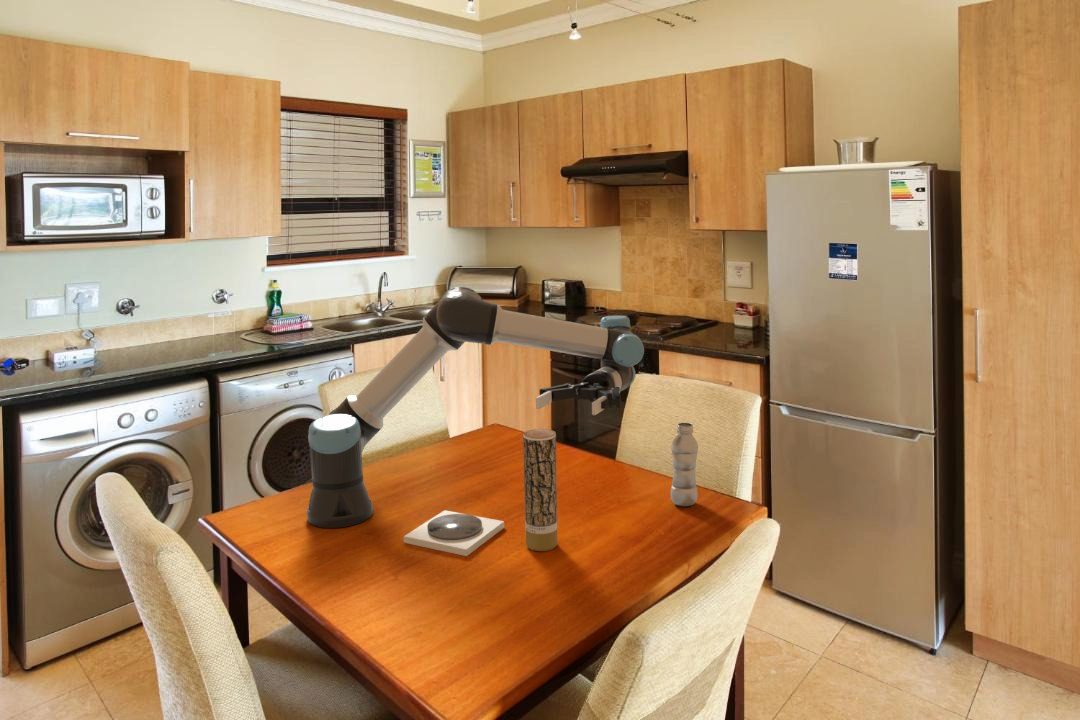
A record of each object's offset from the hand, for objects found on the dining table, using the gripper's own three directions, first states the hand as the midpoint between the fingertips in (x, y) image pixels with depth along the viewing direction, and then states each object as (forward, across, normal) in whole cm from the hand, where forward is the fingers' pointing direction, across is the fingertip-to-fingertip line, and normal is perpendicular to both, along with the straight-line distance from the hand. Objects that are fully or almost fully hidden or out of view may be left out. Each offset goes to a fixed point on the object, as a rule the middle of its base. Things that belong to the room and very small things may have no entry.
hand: (564, 406), depth 168 cm
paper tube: (+12, +1, -28) cm, 31 cm away
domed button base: (+15, +21, -28) cm, 38 cm away
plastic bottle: (-23, -20, -29) cm, 42 cm away
